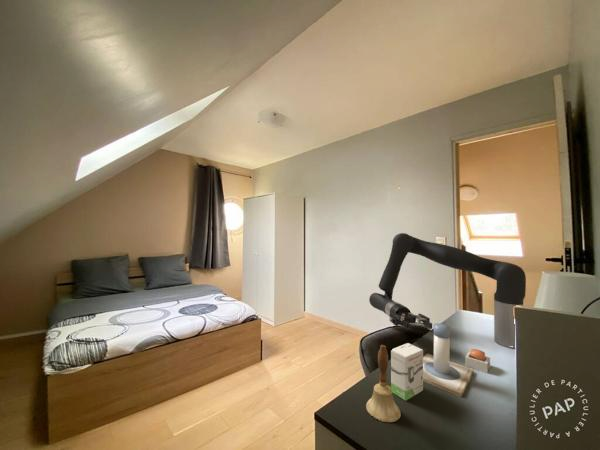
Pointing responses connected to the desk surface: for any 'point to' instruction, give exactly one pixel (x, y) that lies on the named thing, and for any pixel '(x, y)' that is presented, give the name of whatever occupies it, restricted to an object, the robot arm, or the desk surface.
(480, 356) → the button
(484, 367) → the button housing
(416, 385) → the ink box
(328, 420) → the desk surface
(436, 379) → the beige flat board
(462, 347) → the desk surface
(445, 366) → the white bottle
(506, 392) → the desk surface
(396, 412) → the hand bell
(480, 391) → the desk surface
